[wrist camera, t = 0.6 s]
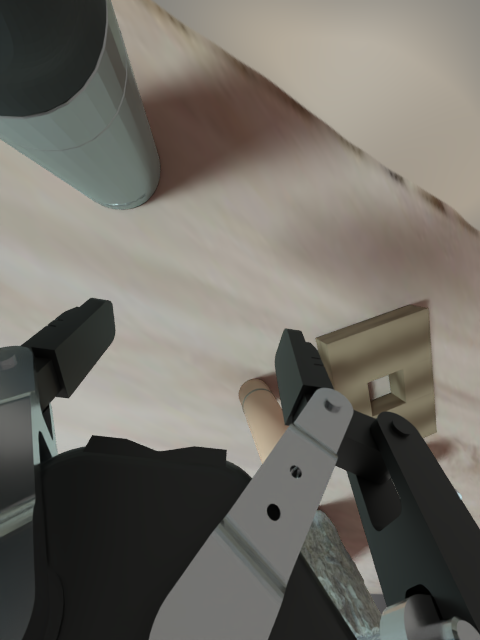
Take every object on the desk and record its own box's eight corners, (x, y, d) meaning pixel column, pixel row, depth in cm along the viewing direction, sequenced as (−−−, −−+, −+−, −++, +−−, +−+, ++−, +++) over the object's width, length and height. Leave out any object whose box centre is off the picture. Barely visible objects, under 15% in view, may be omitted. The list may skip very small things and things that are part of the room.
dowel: (234, 385, 34) (261, 463, 21) (264, 374, 34) (310, 443, 21) (243, 411, 35) (274, 501, 22) (272, 400, 36) (319, 481, 22)
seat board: (315, 338, 35) (326, 344, 32) (409, 304, 37) (428, 308, 34) (339, 454, 41) (351, 469, 38) (420, 420, 43) (436, 432, 40)
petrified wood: (268, 602, 45) (303, 757, 31) (221, 553, 41) (237, 711, 26) (349, 545, 46) (420, 671, 32) (313, 491, 41) (377, 610, 27)
